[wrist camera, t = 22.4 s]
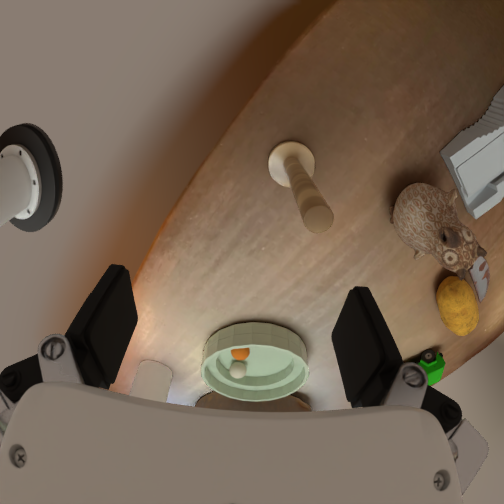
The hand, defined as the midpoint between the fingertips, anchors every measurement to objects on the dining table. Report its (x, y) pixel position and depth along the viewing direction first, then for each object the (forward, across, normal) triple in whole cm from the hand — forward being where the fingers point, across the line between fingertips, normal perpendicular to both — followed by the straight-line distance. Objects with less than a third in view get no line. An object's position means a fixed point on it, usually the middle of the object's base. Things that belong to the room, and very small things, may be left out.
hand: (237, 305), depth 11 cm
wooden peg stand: (+21, -5, -2) cm, 21 cm away
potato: (+20, -36, +14) cm, 44 cm away
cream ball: (+19, -2, +32) cm, 37 cm away
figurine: (+20, -20, 0) cm, 29 cm away
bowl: (+21, -4, +30) cm, 37 cm away
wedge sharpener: (+20, -34, -12) cm, 41 cm away
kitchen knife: (+20, -40, +8) cm, 46 cm away
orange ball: (+19, -2, +27) cm, 33 cm away
